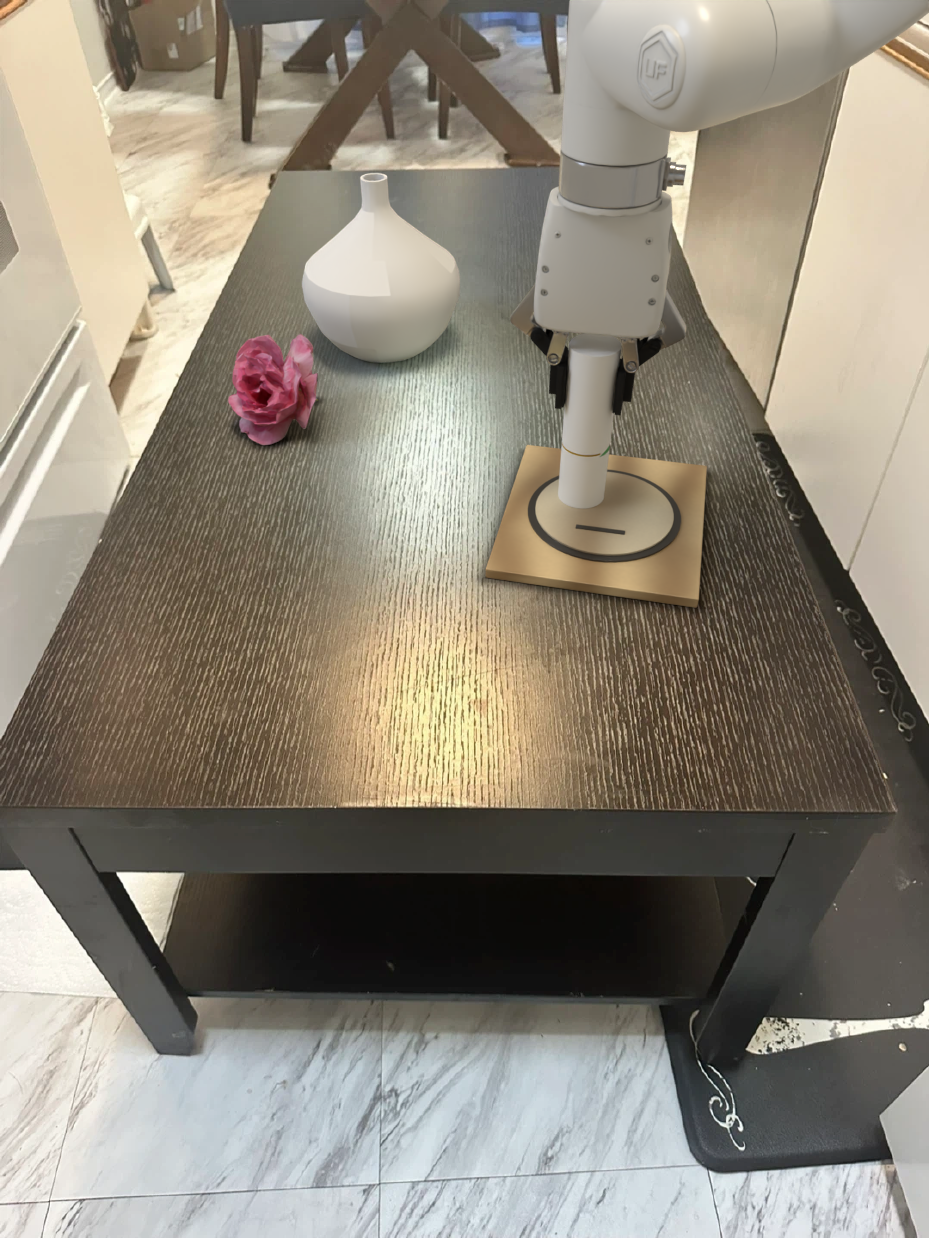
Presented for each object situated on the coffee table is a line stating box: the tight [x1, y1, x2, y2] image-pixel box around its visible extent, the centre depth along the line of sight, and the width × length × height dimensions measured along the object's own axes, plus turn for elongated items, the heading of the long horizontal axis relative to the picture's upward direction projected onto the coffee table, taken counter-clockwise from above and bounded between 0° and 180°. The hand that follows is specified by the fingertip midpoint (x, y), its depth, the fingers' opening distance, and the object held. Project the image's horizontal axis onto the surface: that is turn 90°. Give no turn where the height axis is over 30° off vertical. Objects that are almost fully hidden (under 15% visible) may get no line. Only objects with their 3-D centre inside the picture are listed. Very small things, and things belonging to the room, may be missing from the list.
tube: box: [558, 333, 622, 509], centre depth 78 cm, size 4×4×15 cm
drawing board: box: [485, 444, 708, 609], centre depth 82 cm, size 18×20×2 cm
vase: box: [301, 172, 461, 364], centre depth 102 cm, size 18×18×19 cm
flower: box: [227, 333, 319, 446], centre depth 93 cm, size 11×10×10 cm
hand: (589, 402), depth 76 cm, fingers closed on tube, 4 cm apart
